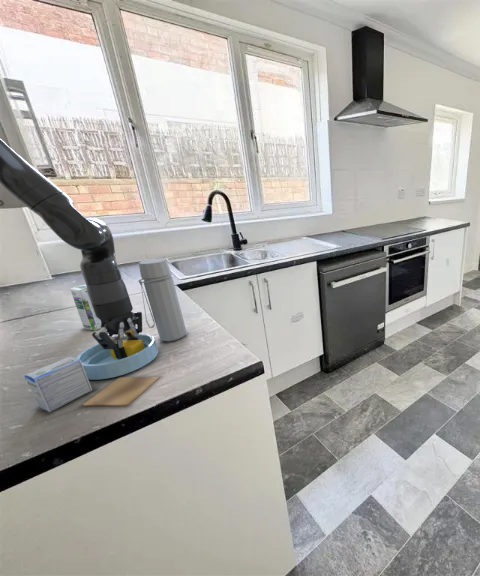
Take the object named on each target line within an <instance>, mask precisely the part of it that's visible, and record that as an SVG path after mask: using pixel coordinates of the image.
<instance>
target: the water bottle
mask: <svg viewBox="0 0 480 576" xmlns="http://www.w3.org/2000/svg"><path fill="white" fill-rule="evenodd" d="M138 267H139V272H140V273H139V274H140V277H141V279H138V280H137V281H138V283H139V285H140V287H141V289H142V291H141V294H142V296H144V297H145V299H144V298H142V302H143V303H145V300H146V304H147V307H148V310H149V312H150V317H151V319H152V321H153V325H150V324H149V321H148V318H147V313H146V311H144V315H145V322H146V325H147V326H148V328H149V329H153V328H154V327H155V326H156V329H157V333H158V336H159V339H160V340H161V341H163V342H175V341H178V340H180V339H182V338H183V337H185V336H186V334H187V328H186V324H185V320H184V317H183V312H182V309H181V305H180V302H179V297H178V294H177V290H176V286H175V283H174V278H173V273H172V271H171V269H170V266H169V263H168V261H167V259H166V258H164V257H163V258H162V257H159V258H158V257H157V258H149V259H145V260H141V261H139V262H138ZM143 286H144V287H143ZM143 308H144V310H146V306H145V304H143Z"/></svg>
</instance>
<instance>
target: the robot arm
mask: <svg viewBox="0 0 480 576" xmlns="http://www.w3.org/2000/svg"><path fill="white" fill-rule="evenodd" d="M0 186H1V187H2V188H3V189H4V190H5V191H6V192H8V194H10V195H11V196H12V197H13V198H15V199H16V200H17V201H19V202H20V203H21V204H22V205H24V206H25V207H26V208H27V209H29V210H30V211H32V212H33V213H34V214H36V215H38V216H39V218H40V219H42V221H43V222H44V223H45V225H46V226H48V228H49V229H50V230H51V231H52V232H53V233H54V234H55V235H56V236H57V237H58V238H60V240H61V241H63V242H64V243H66V244H67V245H68V246H70V247H72V248H73V249H76V250H80V253H81V258H82V259H81V261H80V264H79V267H80V272H81V275H82V277H83V281H84V284H85V285H86V286H87V292H88V295H89V298H90V301H91V304H92V306H93V309H94V312H95V315H96V317H97V318H99V319H100V320H101V328H100V329H98V330H97V331H94V332H92V334H91V336H92V337H93V339H95V341H96V342H97V344H98V343H99V344H100V345H101V346H102V347H103V349H105V350H106V349H113V351H114V353H115V356H116V358H117V359H119V360H120V359H123V358H126V357H127V354H126V352H125V349H124V346H123V341H122V339H123V338H124V336H126V337H127V338H128V339H127V340H138V338H137V337H138V334H142V333H143V313H142V312H141V311H133V309H134V308H133V304H132V301H131V298H130V294H129V291H128V289H127V285H126V284H125V282H124V280H123V277H122V274H121V270H120V267H119V265H118V263H117V259H116V249H115V240H114V237H113V234H112V231H111V229H110V227H109V226H108V225H107V224H106V223H105V222H104V221H102V220H100V219H99V218H94V217H86V216H84V215H83V214H82V213H81V212H80V211H79V210H78V209H76V207H74V201H73V200H72V199H71V198H70V197H69V195H68V194H66V193H65V192H63V190H62V189H60V188H59V187H58V186H57V185H56V184H54V183H53V182H52V181H51V180H50V179H48V178H47V176H44V175H43V173H41V172H40V171H38V169H36V168H35V167H34V166H32V165H31V164H30V163H29V162H28V161H27V160H25V159H24V158H23V157H22V156H21V155H19V154H18V153H17V152H15V150H14V149H13V148H11V147H10V146H9V145H8V144H7V143H6V142H5V141H4V140H2V138H0ZM136 325H137V326H136ZM115 340H117V343H115Z"/></svg>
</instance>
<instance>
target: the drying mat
mask: <svg viewBox="0 0 480 576" xmlns="http://www.w3.org/2000/svg"><path fill="white" fill-rule="evenodd" d="M159 379H160V378H159V376H127V377H125V376H123V377H121V376H118V378H116V379H115V380H113V381H112V382H111V383H110V384H108V385H107V386H105V387H104V388H103V389H101V390H100V391H99V392H98V393H96V394H95V395H93V396H92V397H91V398H89V399H88V400H87V401H86V402H84V403H82V407H128V406H129V405H130V404H131V403H132V402H133V401H135V400H136V399H138V397H139V396H141V395H142V394H143V393H144V392H145V391H146V390H147V389H149V387H151V386H152V385H153V384H154V383H155V382H156V381H158V380H159Z"/></svg>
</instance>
